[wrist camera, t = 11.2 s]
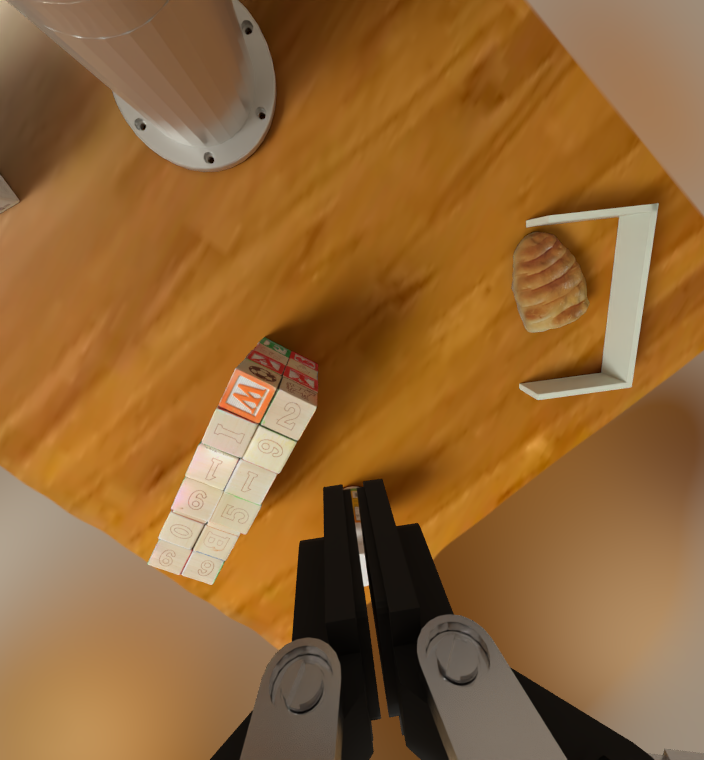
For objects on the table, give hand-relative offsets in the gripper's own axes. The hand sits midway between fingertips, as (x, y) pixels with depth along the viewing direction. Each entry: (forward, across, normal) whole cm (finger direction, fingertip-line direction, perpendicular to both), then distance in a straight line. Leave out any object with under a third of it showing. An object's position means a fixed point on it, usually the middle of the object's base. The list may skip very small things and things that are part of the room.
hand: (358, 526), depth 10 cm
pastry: (+28, -22, -3) cm, 35 cm away
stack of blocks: (+28, +10, +9) cm, 31 cm away
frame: (+27, -25, 0) cm, 37 cm away
